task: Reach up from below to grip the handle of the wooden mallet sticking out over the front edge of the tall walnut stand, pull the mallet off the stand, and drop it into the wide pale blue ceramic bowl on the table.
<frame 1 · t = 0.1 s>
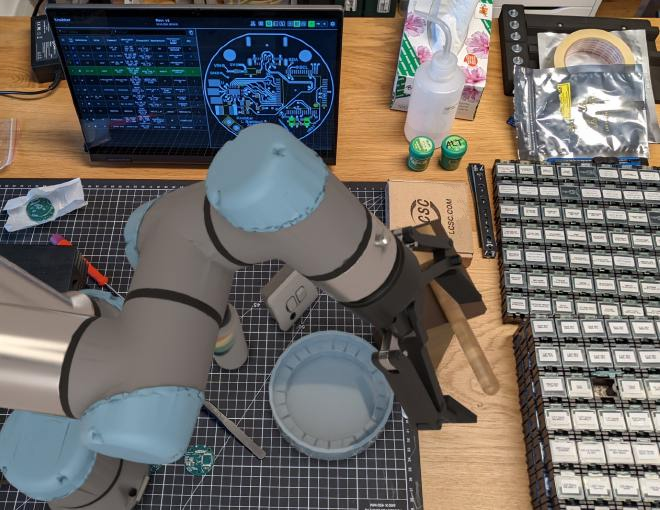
hand: (467, 357, 66), 36 cm above the table, tool tilted 35°, fingers open, 13 cm apart
lotion bottle: (231, 354, 104), on the table
bowl: (330, 399, 100), on the table
wooden mallet: (441, 295, 77), point 30 cm above the table, touching stand
stand: (402, 355, 104), on the table
electrical switch: (290, 306, 109), on the table
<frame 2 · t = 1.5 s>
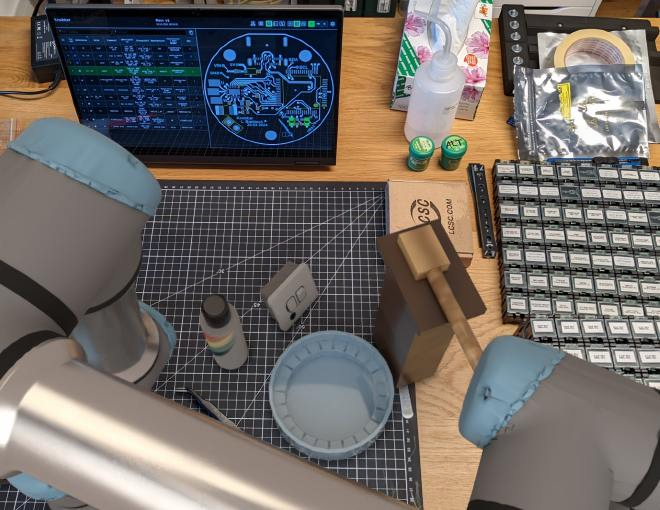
nothing on the table moved.
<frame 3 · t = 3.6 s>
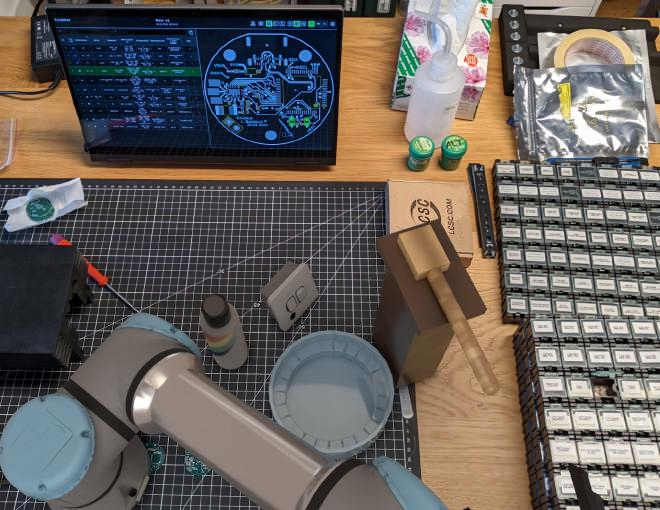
hand: (524, 490, 70), 26 cm above the table, tool pointing upward, fingers open, 13 cm apart
nothing on the table moved.
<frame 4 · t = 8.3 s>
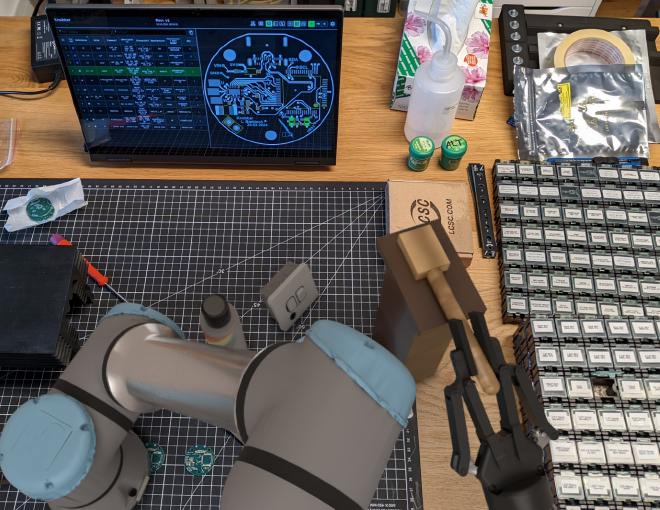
hand: (465, 316, 71), 34 cm above the table, tool pointing upward, fingers closed on wooden mallet, 2 cm apart
wooden mallet: (441, 295, 77), point 30 cm above the table, touching gripper, stand
everything else where it was.
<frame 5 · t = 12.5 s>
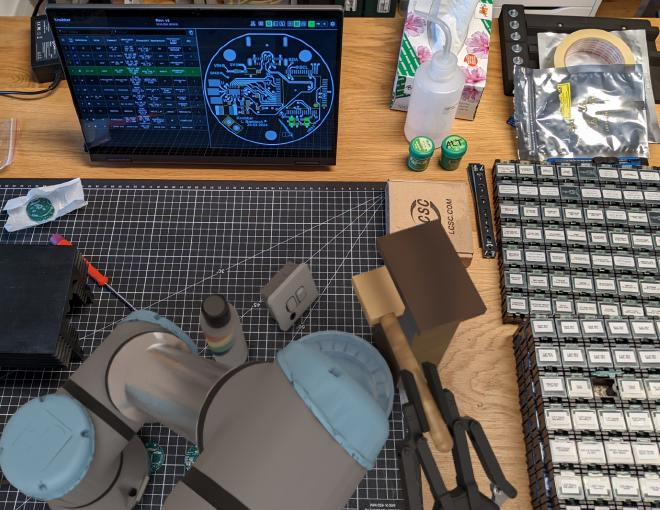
hand: (417, 368, 67), 35 cm above the table, tool pointing upward, fingers closed on wooden mallet, 2 cm apart
wooden mallet: (396, 342, 73), point 31 cm above the table, touching gripper
everything else where it was.
when the fingers open (22 cm above the table, at t = 16.5 s): wooden mallet drops 13 cm, resting on bowl.
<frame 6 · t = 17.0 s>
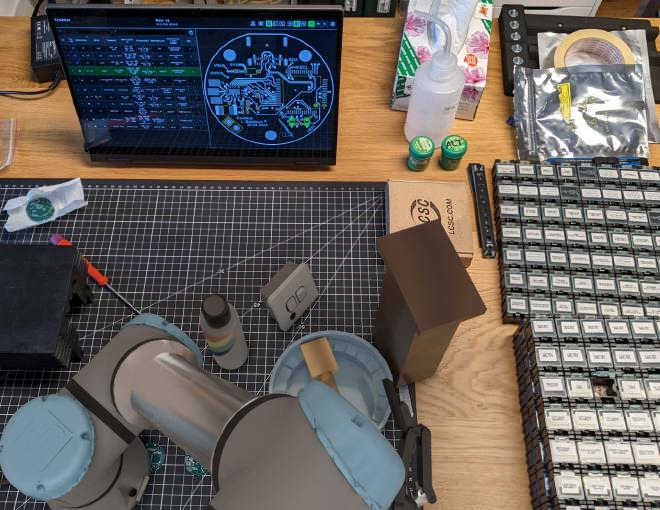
hand: (348, 394, 79), 21 cm above the table, tool pointing upward, fingers open, 10 cm apart
wooden mallet: (332, 394, 96), point 5 cm above the table, tilted 9°, touching bowl
everything else where it was.
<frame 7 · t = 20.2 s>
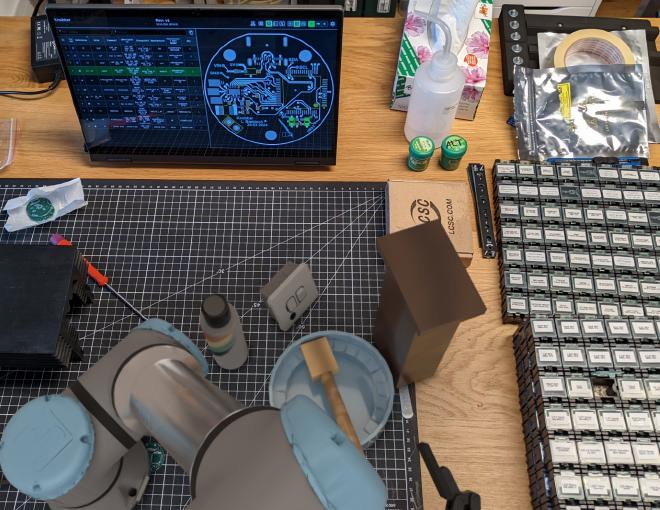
hand: (370, 470, 71), 25 cm above the table, tool pointing upward, fingers open, 13 cm apart
nothing on the table moved.
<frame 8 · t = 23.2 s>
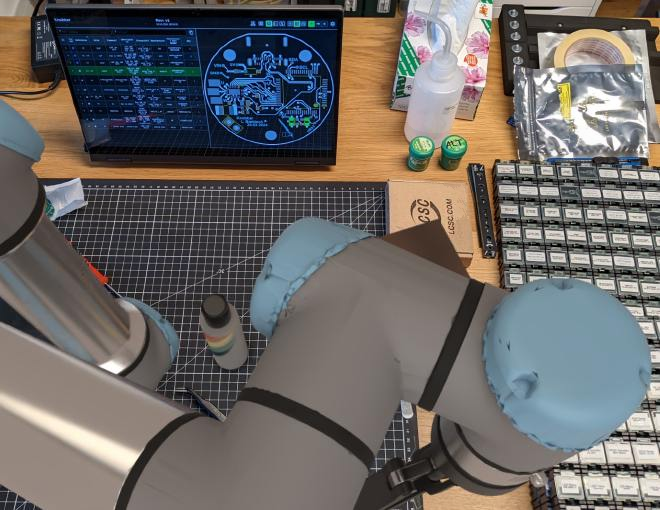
hand: (441, 482, 59), 37 cm above the table, tool pointing down, fingers open, 13 cm apart
nothing on the table moved.
at the end: wooden mallet 0.6 cm from the bowl (horizontally); wooden mallet point 4.7 cm above the table; the gripper is holding nothing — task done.
